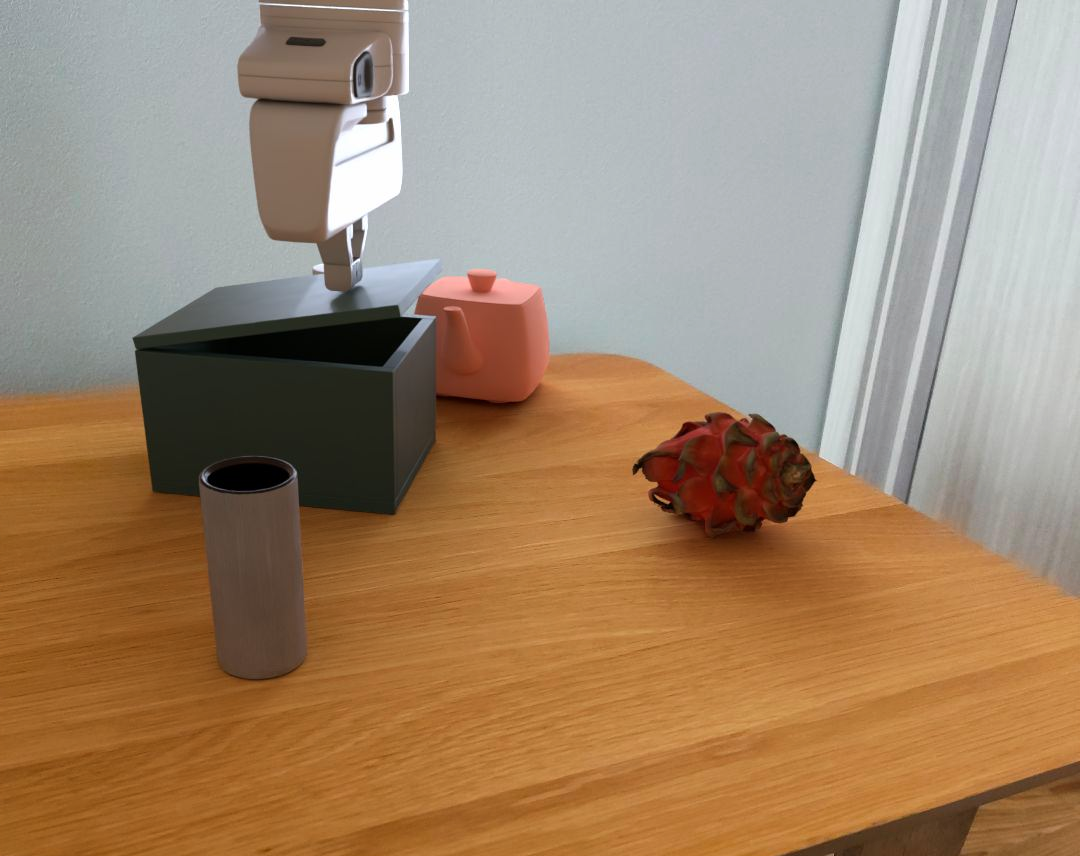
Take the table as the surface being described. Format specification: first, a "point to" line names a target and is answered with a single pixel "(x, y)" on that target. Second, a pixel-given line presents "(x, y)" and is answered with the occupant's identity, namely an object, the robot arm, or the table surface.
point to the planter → (254, 565)
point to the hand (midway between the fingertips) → (344, 286)
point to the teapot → (487, 336)
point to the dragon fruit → (729, 473)
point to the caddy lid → (292, 305)
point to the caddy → (298, 408)
